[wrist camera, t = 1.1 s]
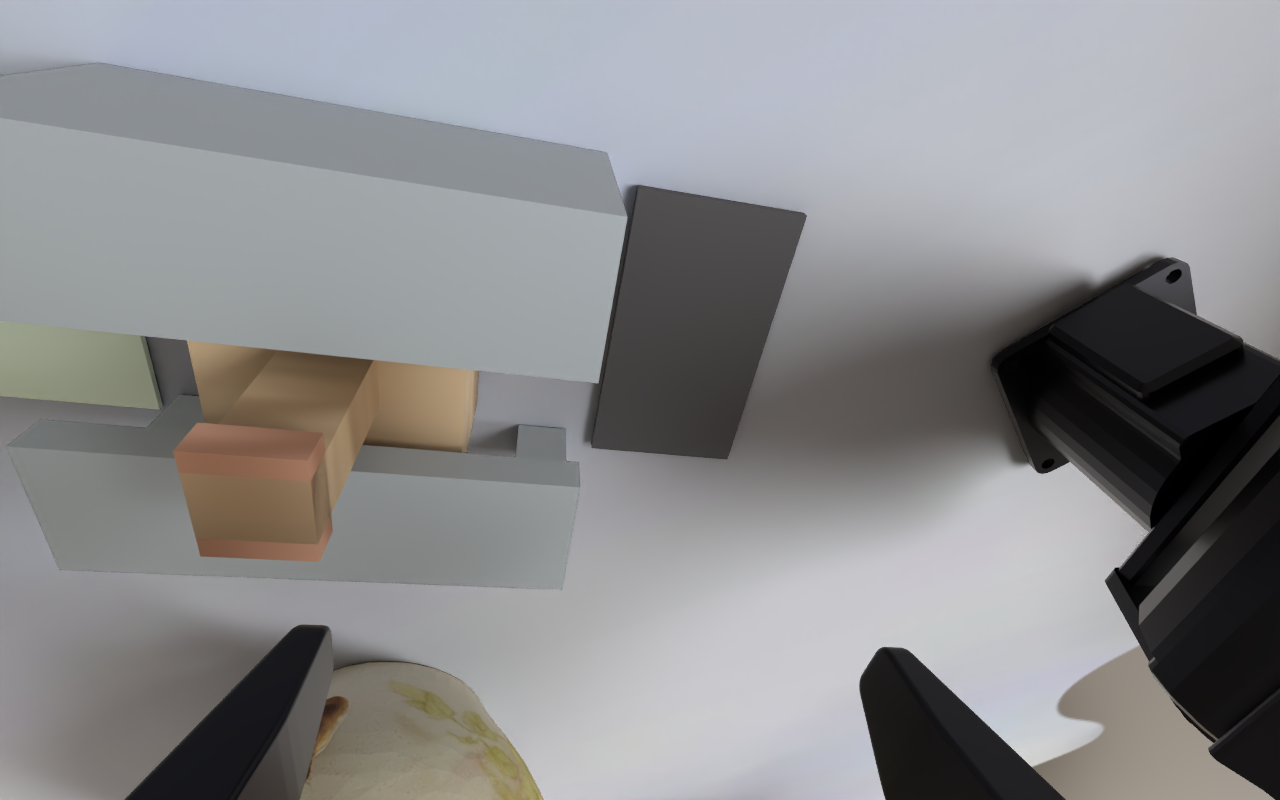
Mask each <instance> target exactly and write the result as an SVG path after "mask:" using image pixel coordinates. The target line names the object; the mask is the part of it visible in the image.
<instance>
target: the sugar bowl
mask: <svg viewBox="0 0 1280 800" xmlns="http://www.w3.org/2000/svg"><path fill="white" fill-rule="evenodd" d="M300 800H543V797H542V795H541V793H540V791H539V788H538V787H537V785H536V783H535V781H534V779H533V777H532V775H531V774H530V772H529V770H528V768H527V766H526V764H525V762H524V761H523V759H522V758H521V757H520V755H519V754H518V752H517V751H516V750H515V748H514V747H513V745H512V744H511V743H510V741H509V740H508V738H507V737H506V736H505V734H504V733H503V732H502V731H501V729H500V728H499V727H498V726H497V724H496V723H495V722H494V720H493V719H492V718H491V717H490V715H489V714H488V713H487V712H486V710H485V708H484V707H483V705H482V703H481V702H480V700H479V698H478V697H477V696H476V695H475V693H474V692H473V691H472V690H471V689H470V688H469V687H468V686H467V685H465V684H464V683H463V682H462V681H460V680H458V679H457V678H455V677H453V676H451V675H449V674H447V673H444V672H442V671H440V670H437V669H435V668H430V667H426V666H422V665H417V664H412V663H403V662H369V663H363V664H357V665H351V666H346V667H343V668H340V669H337V670H334V671H333V675H332V680H331V684H330V688H329V691H328V695H327V699H326V703H325V707H324V711H323V715H322V719H321V722H320V726H319V730H318V734H317V738H316V742H315V746H314V750H313V753H312V757H311V761H310V765H309V769H308V773H307V777H306V780H305V784H304V787H303V791H302V794H301V798H300Z"/></svg>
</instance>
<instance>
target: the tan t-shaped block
mask: <svg viewBox="0 0 1280 800" xmlns="http://www.w3.org/2000/svg"><path fill="white" fill-rule="evenodd" d="M187 344H188V349H189V353H190V358H191V362H192V367H193V371H194V376H195V380H196V385H197V390H198V394H199V399H200V403H201V408H202V412H203V417H204V421H205V423H198V422H197V424H196V425H195V426H194V427H193V428H192V429H191V431H190V432H189V433H188V434H187V435H186V436H185V438H184V439H183V440H182V441H181V442H180V443H179V444H178V446H177V447H176V448H175V449H174V450H173V453H174V457H175V461H176V464H177V468H178V472H179V476H180V480H181V484H182V488H183V491H184V495H185V499H186V503H187V507H188V511H189V514H190V518H191V522H192V526H193V530H194V534H195V538H196V541H197V545H198V549H199V553H200V557H221V558H243V559H266V560H288V561H310V562H320V560H321V558H322V556H323V553H324V551H325V549H326V546H327V544H328V542H329V539H330V537H331V535H332V532H333V526H332V516H331V514H332V512H333V509H334V507H335V505H336V503H337V500H338V498H339V496H340V494H341V491H342V489H343V487H344V485H345V482H346V480H347V478H348V476H349V474H350V471H351V469H352V467H353V465H354V462H355V460H356V458H357V456H358V453H359V451H360V449H361V447H362V445H369V446H382V447H395V448H407V449H420V450H432V451H445V452H458V453H467V449H468V444H469V439H470V434H471V430H472V425H473V420H474V415H475V410H476V405H477V395H478V377H479V371H474V370H465V369H455V368H446V367H436V366H426V365H417V364H407V363H398V362H388V361H379V360H369V359H359V358H350V357H340V356H331V355H321V354H311V353H302V352H292V351H283V350H273V349H264V348H254V347H244V346H235V345H225V344H216V343H206V342H197V341H187Z"/></svg>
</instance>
